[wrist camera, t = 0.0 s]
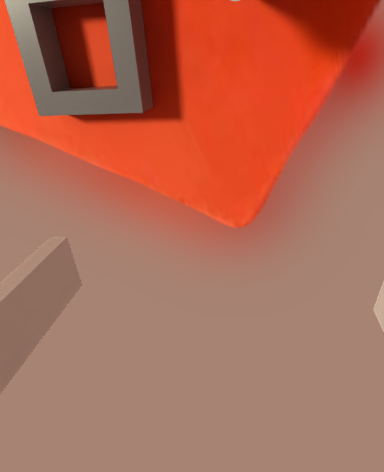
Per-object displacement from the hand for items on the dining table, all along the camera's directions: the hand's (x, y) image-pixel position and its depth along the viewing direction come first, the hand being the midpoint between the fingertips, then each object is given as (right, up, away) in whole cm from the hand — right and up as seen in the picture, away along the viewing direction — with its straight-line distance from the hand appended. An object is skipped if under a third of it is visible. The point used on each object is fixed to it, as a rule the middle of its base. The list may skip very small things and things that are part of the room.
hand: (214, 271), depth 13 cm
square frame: (-12, +23, +22) cm, 34 cm away
